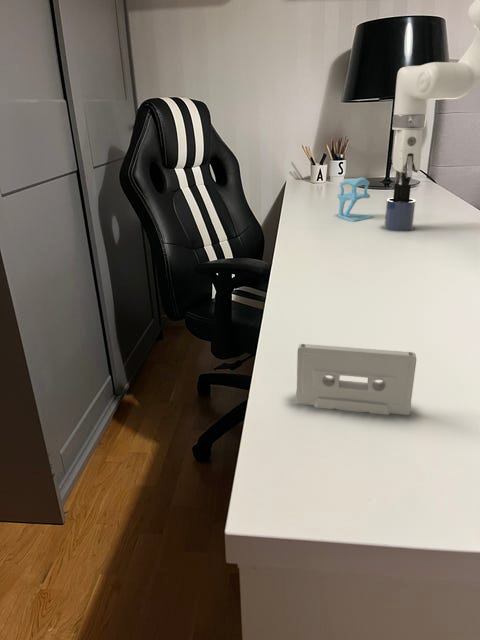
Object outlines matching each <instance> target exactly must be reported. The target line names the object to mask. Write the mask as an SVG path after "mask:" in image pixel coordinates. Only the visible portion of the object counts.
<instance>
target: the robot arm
mask: <svg viewBox="0 0 480 640" xmlns="http://www.w3.org/2000/svg"><path fill="white" fill-rule="evenodd" d="M467 16H468V20H469V22H470V23H471V24H472V26H473V27H474V28H475V34H474V37H473V41H472V42H471V44H470V46H469V48H467V49H466V51H465V52H464V54H463V55H462V56H461V57H460V59H458V61H457V62H456V61H455V62H453V61H452V62H450V61H449V62H448V61H443V62H442V61H433V62H428V63H424V64H421V65H407V66H403V67H401V68H399V70H398V71H397V75H396V83H395V95H394V96H395V98H394V105H393V106H394V107H393V117H392V127H391V128H392V129H391V130H393V131H396V132H395V137H394V145H393V154H392V169H394V170H395V180H394V182H395V183H394V187H393V197H392V198H394V199H396V201H409V199H410V196H411V189H412V187H411V186H412V178H413V172H414V173H419V172H420V170H421V162H422V149H423V130H425V129H426V121H427V113H428V111H427V110H428V104H429V101H431V100H432V101H434V100H436V101H437V100H439V101H440V100H455V99H456V100H457V99H460V98H462V97H465V96H466V95H468V94H469V93H470V92H471V91H472V90H474V88H476V87H477V85H478V84H479V83H480V0H473V2H472V3H471V4H470V6H469V8H468V13H467Z"/></svg>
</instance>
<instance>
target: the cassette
mask: <svg viewBox="0 0 480 640" xmlns="http://www.w3.org/2000/svg"><path fill="white" fill-rule="evenodd" d="M296 356H297V357H296V359H297V360H296V363H297V364H296V391H295V404H297V405H307V406H314V408H318V409H327V410H334V409H336V410H339V411H346V412H357V413H369V414H375V415H376V414H379V415H385V416H387V415H388V416H389V415H390V414H393V415H402V416H403V415H404V416H410V414H411V407H412V398H413V390H414V382H415V374H416V367H417V356H416V353H415V352H413V351H402V350H401V351H400V350H388V349H376V348H375V349H374V348H364V347H363V348H361V347H349V346H337V345H325V344H323V345H321V344H311V343H309V344H308V343H299V345H298V346H297V355H296ZM327 376H330V377H327ZM341 376H345V377H355V378H367V382H364V381H352V380H341ZM377 381H379V382H377ZM380 381H381V382H380Z"/></svg>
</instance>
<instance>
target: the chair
mask: <svg viewBox="0 0 480 640" xmlns="http://www.w3.org/2000/svg"><path fill="white" fill-rule="evenodd" d="M345 185H349V186H351V191H349V192H347V193H345V189H344V186H345ZM360 186H365V187H364V189H363V193H359V192H357V188H358V187H360ZM369 186H370V181H369V180H368V179H366V178H365V177H358V178H356V179H351V178H348V179H346V180H344V181H342V182H339V187H340V193H339V194H337V198H338V201H339V207H338V215H337V216H338V217H339V218H341V219H345V220H347V221H350V222H359V221H363V220H369V219H372V216H371V215H364V214H354V213H350V212H351V211H352V209H353V207H354V205H355V204H356V203H357V201H358V200H362V199H370V198H371V194H370V193H368V189H369ZM348 201H350V203H349V204H348V206H347V209H346V210H345V212H344V208H345V203H346V202H348ZM351 217H355V218H351Z"/></svg>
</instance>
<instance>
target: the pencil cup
mask: <svg viewBox="0 0 480 640" xmlns="http://www.w3.org/2000/svg"><path fill="white" fill-rule="evenodd" d="M415 210H416V199H414V198H409V201H404V202H398V201H396V199H394V198H393V197H390V198H387V199H386V203H385V214H384V226H383V228H384V229H385V230H387V231H391V232H392V231H393V232H409V231H412V230H413V228H414V219H415Z"/></svg>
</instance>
